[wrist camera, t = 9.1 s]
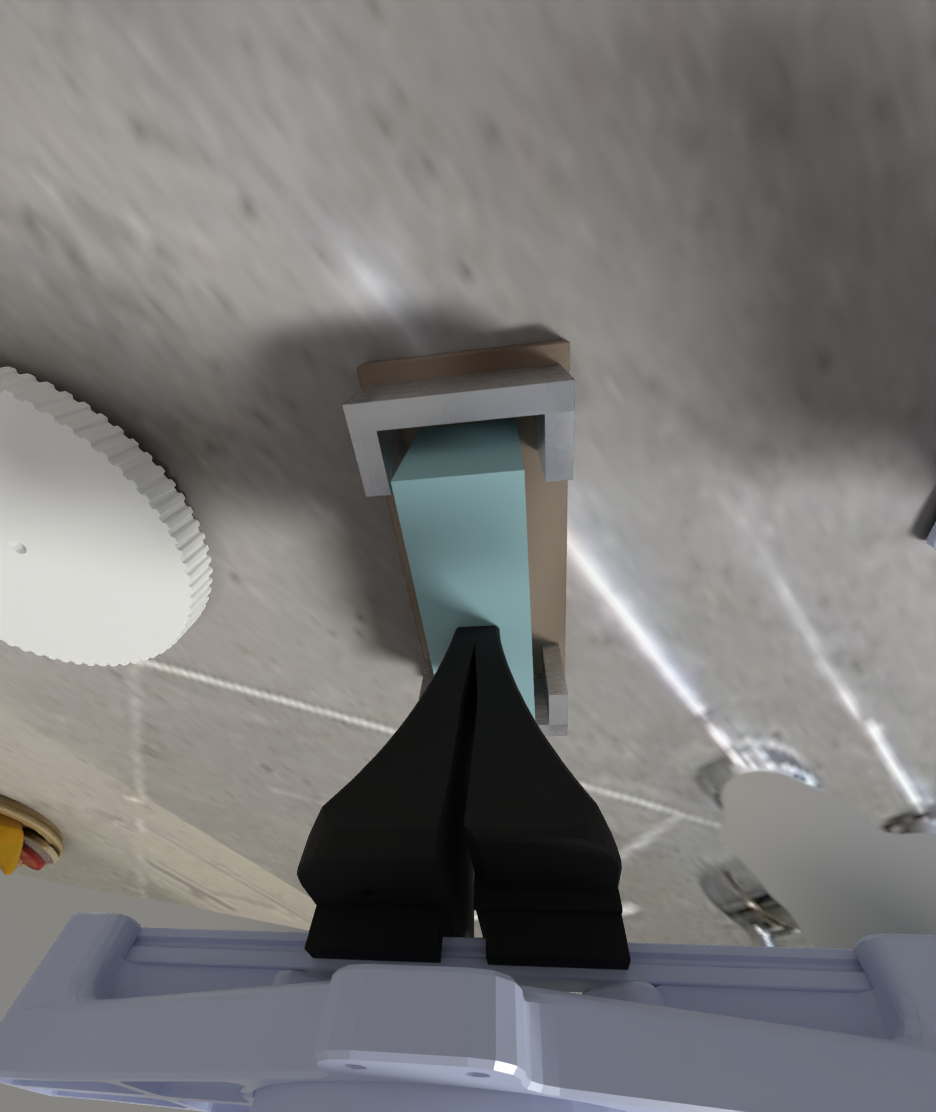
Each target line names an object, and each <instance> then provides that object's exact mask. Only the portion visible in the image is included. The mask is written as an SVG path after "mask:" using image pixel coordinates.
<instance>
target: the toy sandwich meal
mask: <svg viewBox="0 0 936 1112" xmlns="http://www.w3.org/2000/svg"><path fill="white" fill-rule="evenodd" d="M62 840H63V838H62V834H61V832H60V831H59V829H58V828H57V827H56V826H55V825H54V824H53V823H52V822H51V821H49V820H48V819H47V818H45V817H44V816H43V815H41V814H39V813H38V812H36V811H34V810H32V809H31V808H29V807H27V806H25V805H22V804H20V803H18V802H16V801H13V800H11V799H8V798H5V797H3V796H0V868H1V870H2V871H3V873H4V874H5V875H9V874H11V873H12V872H13V871H14V869H15V868H18V867H19V866H28V867H30V868H32V869H34V870H40V869H41V868H42V867H43V866H44V865H48V864H54V863H55V862H56V861H58V860H59V859H60V858H61V857H62V855H63V850H64V847H63V843H62Z"/></svg>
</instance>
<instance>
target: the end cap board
mask: <svg viewBox="0 0 936 1112" xmlns="http://www.w3.org/2000/svg"><path fill="white" fill-rule="evenodd" d="M569 357H570V342H569V341H567V340H566V339H563V340H554V341H546V342H538V343H529V344H521V345H512V346H504V347H495V348H487V349H478V350H470V351H462V352H453V353H445V354H436V355H428V356H419V357H411V358H402V359H394V360H386V361H377V362H369V363H364V364H362V365H360V366H358V367H357V371H358V376H359V380H360V384H361V388H362V390H364V389H365V388H366V387H368V386H369V385H376V384H385V383H394V382H403V381H412V380H421V379H429V378H438V377H447V376H456V375H465V374H474V373H483V372H492V371H501V370H509V369H518V368H527V367H536V366H545V365H554V364H561V365H562V366H563V368H564V369H565V370H566V371H567V372H568V373H569ZM508 419H516V423H517V429H518V435H519V441H520V447H521V453H522V459H523V465H524V473H525V496H526V519H527V542H528V565H529V588H530V611H531V634H532V657H533V674H534V673H543V664H542V644H559V647H560V653H561V658H562V664H563V669H564V675H565V621H566V555H567V489H568V480H563V481H551V482H546V481H545V477H544V473H543V470H542V466H541V462H540V459H539V455H538V451H537V421H536V415H530V416H520V417H510V418H501V419H491V420H481V421H471V422H461V423H451V424H441V425H431V426H421V427H411V428H401V430H402V435H403V440H404V445H405V450H406V453H407V451H408V450H409V448H410V446H411V444H412V442H413V441H414V439H415V437H416V435H417V433H418V432H419V430H420V428H429V427H439V426H449V425H459V424H469V423H478V422H488V421H498V420H508ZM386 496H387V500H388V504H389V509H390V513H391V517H392V522H393V526H394V530H395V534H396V539H397V543H398V547H399V552H400V556H401V560H402V564H403V569H404V573H405V577H406V582H407V586H408V590H409V595H410V599H411V603H412V607H413V612H414V616H415V620H416V625H417V629H418V633H419V638H420V642H421V646H422V650H423V655H424V659H425V663H426V658H427V653H428V646H427V641H426V637H425V632H424V628H423V624H422V619H421V615H420V610H419V606H418V601H417V597H416V592H415V588H414V583H413V579H412V574H411V570H410V565H409V561H408V557H407V552H406V548H405V543H404V539H403V534H402V530H401V525H400V521H399V516H398V512H397V507H396V503H395V498H394V494H393V492H392V494H391V495H386Z"/></svg>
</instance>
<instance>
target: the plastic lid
mask: <svg viewBox="0 0 936 1112" xmlns="http://www.w3.org/2000/svg"><path fill="white" fill-rule="evenodd" d="M138 446H139V443H137V442H136V441H135V440H134V439H128V438H127V437H126V436H125V435H124V430H123V429H121V428H120V427H119V426H112V425H111V424H110V423H109V422H108V418H107V417H106V416H104V415H103V414H101V413H99V414H96V413H94V412H93V411H92V410H91V407H90V405H88V404H87V403H85V402H77V401H75V400H74V399H73V395H72V394H70V393H68V392H66V391H62V392H59V391H57V390H56V389H55V387H54V385H53V384H51V383H49V382H47V381H46V382H41V383H40V382H38V381H37V380H36V378H35V376H33V375H31V374H28V373H26V374H18V373H17V371H16V369H15V368H12V367H1V368H0V640H2V641H5V642H6V643H7V644H8V645H10V646H13V647H14V646H17V647H20V648H21V650H23V651H26V652H28V651H32V652H34V653H35V654H36V655H39V656H42V655H45V656H48V658H50V659H53V660H55V659H56V658H57V659H61V660H62V661H63V662H67V663H68V662H69V661H73V662H74V663H75V664H80V665H81V664H82V663H86V664H87V665H89V666H93V665H94V664H98V665H99V666H106V665H107V664H110V665H111V666H117V665H118V664H121V665H127V664H128V663H129V662H131V663H133V664H135V663H138V662H139V661H140V660H141V661H146V660H147V659H148V658H149V657H151V658H154V657H156V656H157V655H158V654H162V653H164V651H165V650H166V649H169V648H171V646H172V645H173V644H175V643H176V642H177V641H178V640H179V639H180V638H181V636H182V635H183V634H184V633H185V632H186V631H187V630H188V629H189V628H190V627H191V626H192V624H193V623H194V622H195V621H196V620H197V618H198V617H199V616H200V615H201V614H202V613H201V612H202V611H203V610H204V609H205V607H206V605H205V603H206V602H207V601H208V600H209V597H208V596H207V595H208V594H209V593H210V592H211V588H210V587H209V585H210V584H211V583H212V578H211V577H209V575H210V574H211V573H212V568H211V567H209V565H208V564H209V563H210V562H211V557H210V556H208V555H207V553H206V552H207V551H208V550H209V548H208V545H206V544H204V542H203V539H204V538H205V535H204V533H203V532H200V531H199V529H198V527H199V526H200V523H199V521H198V520H196V519H194V518H193V516H192V513H193V510H192V508H191V507H190V506H186V504H185V502H184V500H185V497H184V495H183V494H182V493H178V492H177V491H176V489H175V488H174V487H175V486H176V484H175V483H174V481H173V480H172V479H167V478H166V476H165V475H164V472H165V470H164V469H163V468H162V467H161V466H156V465H155V464H154V463H153V462H152V458H153V457H152V456H151V455H150V454H149V453H148V452H143V451H142V450H140V449H139V447H138Z"/></svg>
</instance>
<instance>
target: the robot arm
mask: <svg viewBox="0 0 936 1112" xmlns="http://www.w3.org/2000/svg"><path fill="white" fill-rule="evenodd" d="M927 544H929V545H930V546H932V547H933V548H935V549H936V522H935V524H934V526H933V528H932V529H931V531H930V533H929V535H928V537H927ZM621 869H622V865H621V858H620V855H619V852H618V849H617V846H616V843H615V840H614V838H613V836H612V833H611V831H610V829H609V827H608V825H607V823H606V821H605V819H604V817H603V815H602V813H601V811H600V809H599V807H598V805H597V804H596V802H595V801H594V800H593V799H592V798H591V797H590V795H589V794H588V793H587V792H586V791H585V790H584V788H583V787H582V786H581V785H580V783H579V782H578V781H577V780H576V779H575V777H574V776H573V775H572V773H571V772H570V771H569V769H568V768H567V767H566V766H565V764H564V763H563V762H562V760H561V759H560V757H559V756H558V754H557V753H556V752H555V750H554V749H553V747H552V746H551V744H550V743H549V742H548V740H547V739H546V737H545V736H544V734H543V732H542V731H541V729H540V728H539V726H538V724H537V723H536V721H535V719H534V718H533V716H532V714H531V712H530V711H529V709H528V707H527V705H526V703H525V701H524V699H523V697H522V695H521V693H520V691H519V689H518V687H517V685H516V682H515V680H514V678H513V676H512V673H511V671H510V668H509V666H508V663H507V660H506V657H505V654H504V651H503V648H502V644H501V639H500V629H499V627H497V626H496V625H492V626H472V627H458V628H457V629H456V630H455V632H454V635H453V638H452V640H451V643H450V645H449V647H448V649H447V651H446V654H445V656H444V658H443V660H442V662H441V664H440V665H439V667H438V669H437V671H436V673H435V675H434V677H433V678H432V680H431V682H430V683H429V685H428V687H427V688H426V690H425V692H424V693H423V695H422V696H421V698H420V700H419V701H418V703H417V704H416V706H415V707H414V709H413V710H412V711H411V713H410V714H409V716H408V717H407V718H406V720H405V721H404V722H403V724H402V725H401V726H400V727H399V729H398V730H397V731H396V732H395V734H394V735H393V736H392V737H391V739H390V740H389V741H388V742H387V743H386V745H385V746H384V747H383V748H382V749H381V750H380V751H379V752H378V754H377V755H376V756H375V757H374V758H373V759H372V760H371V761H370V762H369V763H368V764H367V765H366V766H365V767H364V768H363V769H362V770H361V771H360V772H359V773H358V774H357V775H356V776H355V777H354V778H353V779H352V780H351V781H350V782H349V783H348V784H347V785H346V786H345V787H344V788H343V789H341V790H340V791H339V792H338V793H337V794H336V795H335V796H334V797H333V798H332V799H330V800H329V801H328V802H327V803H326V804H325V805H324V806H323V807H322V808H321V810H320V813H319V815H318V817H317V819H316V821H315V823H314V825H313V828H312V830H311V832H310V834H309V837H308V840H307V843H306V846H305V849H304V851H303V854H302V857H301V860H300V863H299V866H298V870H297V876H298V878H299V880H300V883H301V885H302V886H303V888H304V889H305V890H306V892H307V893H308V894H309V896H310V897H311V898H312V900H313V901H314V902H315V904H316V905H317V906H316V910H315V913H314V917H313V920H312V923H311V927H310V930H309V933H303V932H302V933H301V932H271V931H237V930H205V929H172V928H141V926H140V924H139V923H138V922H137V921H135V920H134V919H132V918H130V917H128V916H126V915H122V914H116V913H91V912H90V913H89V912H78V913H76V914H74V915H73V916H72V917H71V919H70V920H69V922H68V923H67V924H66V926H65V927H64V929H63V930H62V932H61V933H60V935H59V936H58V938H57V939H56V941H55V942H54V944H53V945H52V947H51V948H50V950H49V951H48V952H47V954H46V956H45V957H44V958H43V960H42V961H41V963H40V964H39V966H38V967H37V969H36V970H35V972H34V973H33V975H32V976H31V978H30V979H29V980H28V982H27V983H26V985H25V987H24V988H23V989H22V991H21V992H20V994H19V995H18V997H17V998H16V1000H15V1001H14V1003H13V1004H12V1006H11V1007H10V1008H9V1010H8V1011H7V1013H6V1014H5V1016H4V1017H3V1019H2V1020H1V1022H0V1083H2V1084H6V1085H9V1086H13V1087H18V1088H21V1089H25V1090H30V1091H33V1092H37V1093H41V1094H45V1095H49V1096H59V1097H71V1098H83V1099H93V1100H103V1101H114V1102H124V1103H134V1104H142V1105H151V1106H160V1107H168V1108H177V1109H186V1110H195V1111H203V1112H936V935H912V934H874V935H870V936H866V937H864V938H862V939H860V940H859V941H858V942H857V944H856V945H855V947H854V949H827V948H795V947H762V946H729V945H696V944H664V943H631V942H627V939H626V934H625V929H624V924H623V919H622V904H621V899H620V894H619V889H618V886H619V880H620V875H621ZM474 910H476V911H477V915H478V919H479V923H480V927H481V931H482V935H483V938H474ZM569 992H583V993H582V994H575V993H569Z"/></svg>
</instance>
